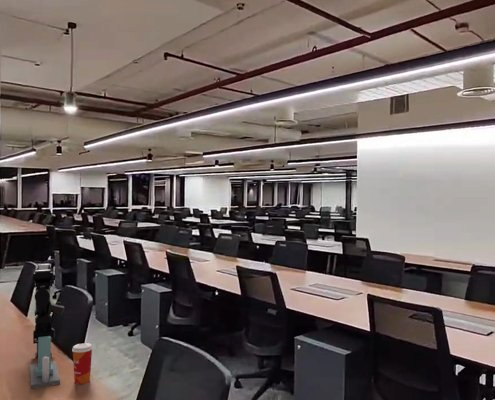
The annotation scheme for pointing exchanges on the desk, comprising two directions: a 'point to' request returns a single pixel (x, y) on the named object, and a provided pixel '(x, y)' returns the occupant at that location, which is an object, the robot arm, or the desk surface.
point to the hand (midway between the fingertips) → (42, 335)
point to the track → (39, 379)
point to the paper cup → (82, 362)
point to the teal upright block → (44, 354)
